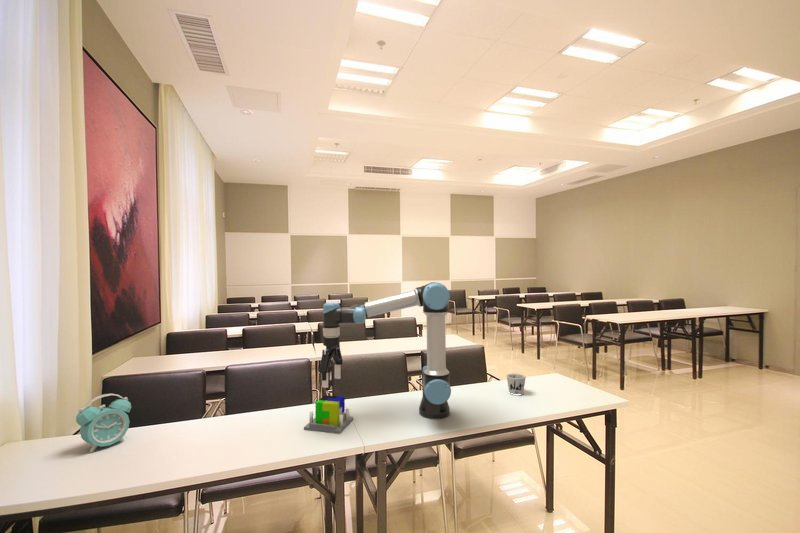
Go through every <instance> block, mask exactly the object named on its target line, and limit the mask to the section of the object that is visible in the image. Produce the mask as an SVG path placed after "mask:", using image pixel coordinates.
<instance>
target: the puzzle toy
mask: <svg viewBox="0 0 800 533" xmlns="http://www.w3.org/2000/svg"><path fill="white" fill-rule="evenodd" d="M345 400H346V399H345V396H341V395H339V396H338V395H327V394H326V395H323V396H322V397H320V398H319V399H318V400H317V401H316V402H315V412H314V413H315V414H314V415H315V417H314V418H315V423H317V424H326V425H335V426H336V427H337V426H338V425H339V415H341V414H342V415H343V419H344V418H345V413H346V407H345V405H346V403H345Z"/></svg>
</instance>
